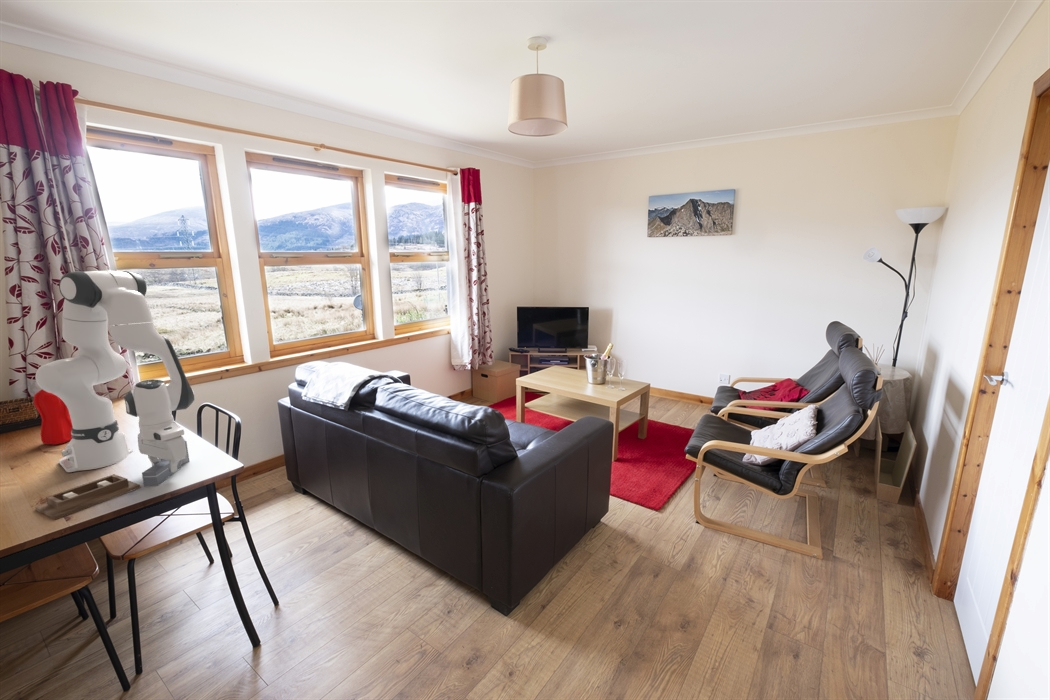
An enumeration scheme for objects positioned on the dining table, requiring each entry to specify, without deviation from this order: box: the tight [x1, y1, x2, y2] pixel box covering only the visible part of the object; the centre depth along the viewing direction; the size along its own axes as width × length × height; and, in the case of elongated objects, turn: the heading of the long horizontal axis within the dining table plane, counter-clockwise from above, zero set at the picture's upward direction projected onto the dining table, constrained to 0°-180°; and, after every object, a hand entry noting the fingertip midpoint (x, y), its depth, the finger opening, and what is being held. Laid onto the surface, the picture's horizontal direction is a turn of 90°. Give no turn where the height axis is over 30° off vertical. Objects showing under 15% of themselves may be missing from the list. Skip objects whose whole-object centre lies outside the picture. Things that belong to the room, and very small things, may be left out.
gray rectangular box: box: [141, 459, 182, 488], centre depth 149 cm, size 4×12×5 cm, turn 7°
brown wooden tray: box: [34, 473, 141, 520], centre depth 136 cm, size 12×20×4 cm, turn 155°
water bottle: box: [33, 388, 73, 446], centre depth 180 cm, size 9×11×25 cm
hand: (164, 469), depth 149 cm, fingers open, 8 cm apart
